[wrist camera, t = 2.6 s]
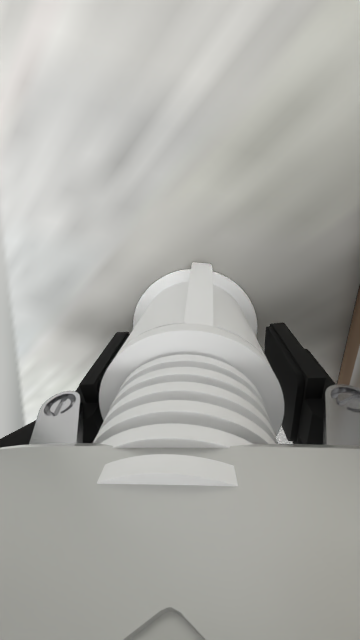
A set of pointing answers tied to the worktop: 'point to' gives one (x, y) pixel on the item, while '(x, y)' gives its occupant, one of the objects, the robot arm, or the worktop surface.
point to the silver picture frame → (352, 351)
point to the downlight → (188, 382)
